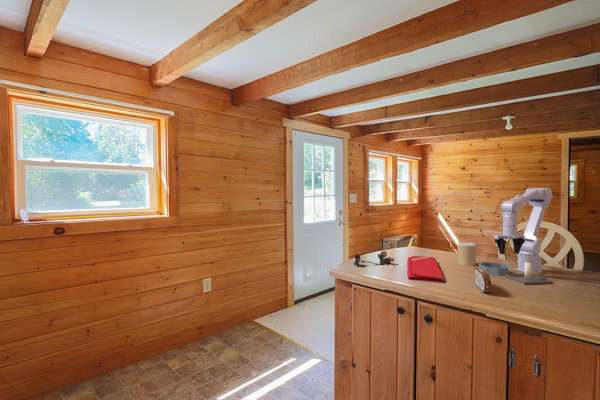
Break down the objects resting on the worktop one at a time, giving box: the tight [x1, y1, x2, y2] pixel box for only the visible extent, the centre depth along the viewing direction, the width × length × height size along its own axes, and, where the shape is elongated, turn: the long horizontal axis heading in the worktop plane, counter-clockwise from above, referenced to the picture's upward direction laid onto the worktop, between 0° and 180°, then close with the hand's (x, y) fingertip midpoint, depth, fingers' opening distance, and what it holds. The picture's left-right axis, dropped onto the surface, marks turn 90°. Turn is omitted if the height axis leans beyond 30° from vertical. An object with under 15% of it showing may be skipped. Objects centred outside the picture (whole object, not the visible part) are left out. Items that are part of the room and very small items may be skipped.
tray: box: [504, 273, 553, 286], centre depth 139 cm, size 13×11×2 cm
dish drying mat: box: [406, 255, 445, 284], centre depth 158 cm, size 16×41×4 cm, turn 161°
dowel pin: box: [523, 262, 532, 280], centre depth 139 cm, size 2×2×8 cm
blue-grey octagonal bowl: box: [478, 261, 510, 277], centre depth 152 cm, size 12×12×4 cm
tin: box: [474, 267, 493, 294], centre depth 128 cm, size 15×3×8 cm, turn 164°
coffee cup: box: [457, 242, 478, 267], centre depth 167 cm, size 9×9×12 cm
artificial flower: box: [353, 250, 395, 267], centre depth 171 cm, size 9×22×10 cm, turn 99°
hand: (509, 253), depth 148 cm, fingers open, 7 cm apart
